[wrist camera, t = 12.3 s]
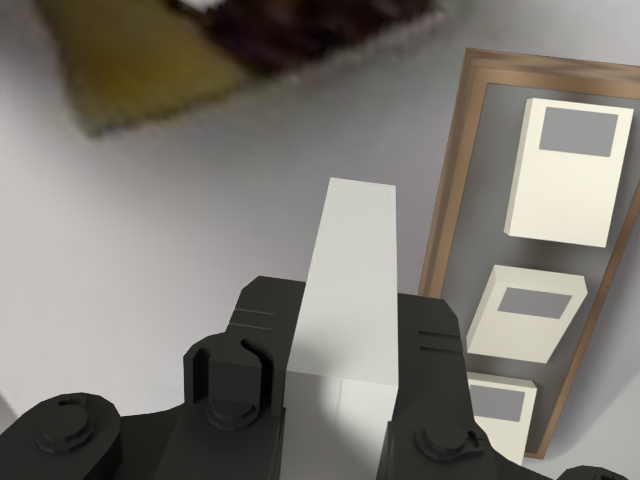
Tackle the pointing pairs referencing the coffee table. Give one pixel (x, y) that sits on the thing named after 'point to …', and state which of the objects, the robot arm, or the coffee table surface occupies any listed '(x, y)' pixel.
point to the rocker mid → (524, 313)
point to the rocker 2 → (567, 171)
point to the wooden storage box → (492, 204)
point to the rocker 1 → (503, 411)
